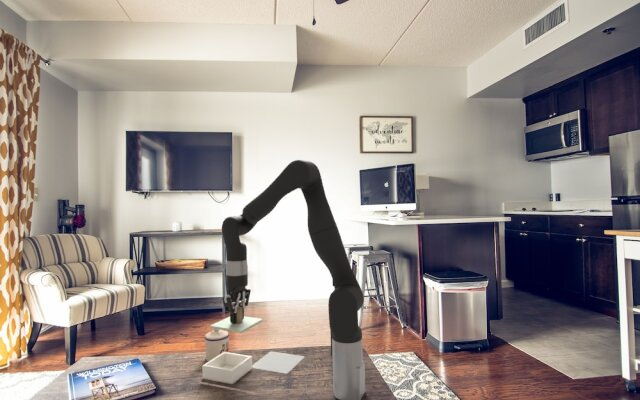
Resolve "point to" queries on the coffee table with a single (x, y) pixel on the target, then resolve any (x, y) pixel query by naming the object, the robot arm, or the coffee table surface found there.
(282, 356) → the mat
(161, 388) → the coffee table surface
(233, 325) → the lid
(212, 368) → the dish
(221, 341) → the teacup with lid
